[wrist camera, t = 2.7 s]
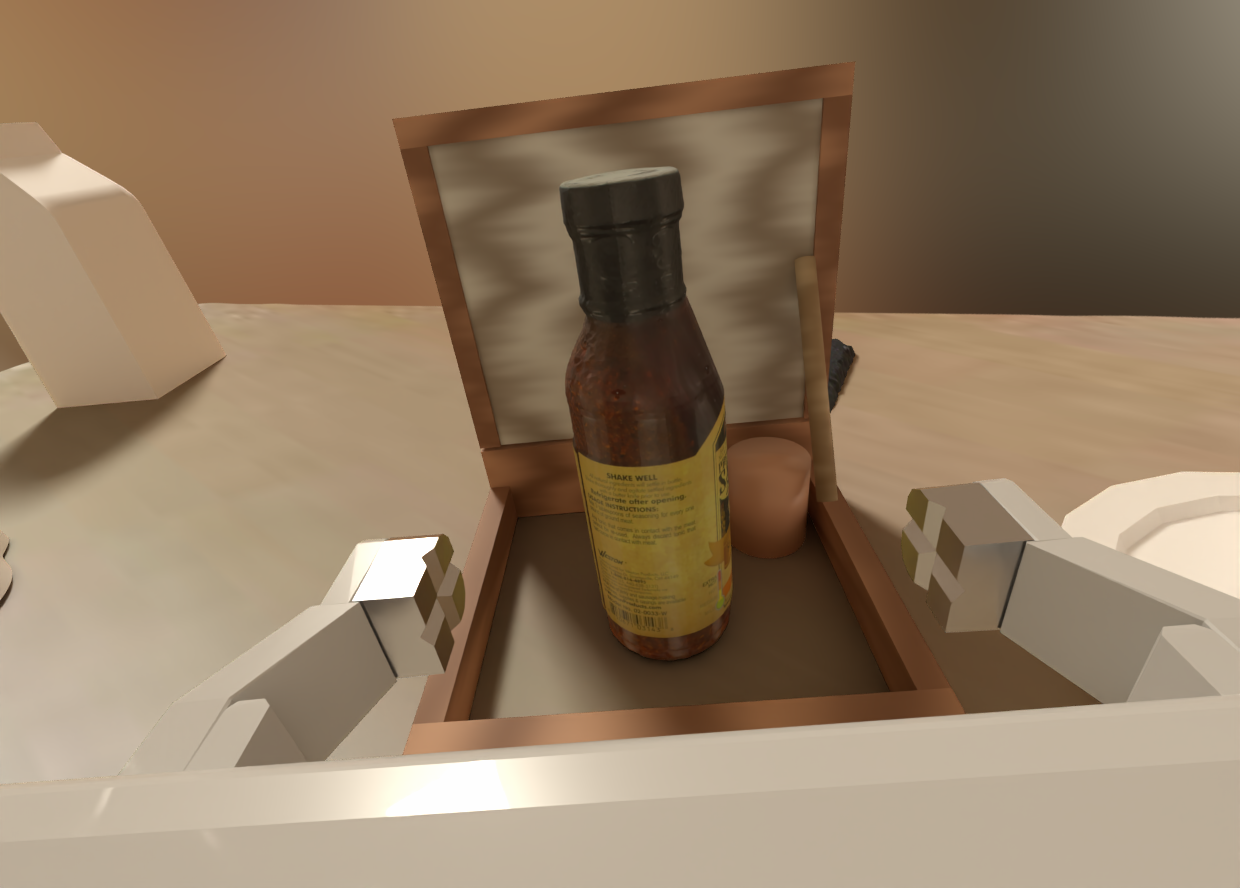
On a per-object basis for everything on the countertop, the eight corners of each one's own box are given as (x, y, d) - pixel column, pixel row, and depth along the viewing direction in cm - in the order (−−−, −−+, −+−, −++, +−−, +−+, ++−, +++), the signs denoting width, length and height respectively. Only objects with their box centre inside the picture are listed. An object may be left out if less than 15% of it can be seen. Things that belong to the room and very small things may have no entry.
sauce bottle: (758, 639, 27) (768, 164, 17) (631, 689, 25) (559, 198, 15) (693, 553, 32) (672, 155, 22) (586, 590, 31) (511, 180, 20)
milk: (158, 399, 61) (-2, 118, 48) (57, 408, 62) (-128, 135, 49) (226, 355, 72) (110, 114, 58) (139, 363, 72) (5, 128, 59)
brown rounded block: (732, 561, 31) (732, 485, 29) (720, 511, 35) (719, 440, 33) (815, 554, 31) (822, 478, 28) (794, 505, 35) (798, 433, 32)
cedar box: (420, 791, 22) (93, 145, 11) (502, 507, 38) (400, 118, 26) (955, 758, 21) (1199, 6, 10) (813, 480, 37) (846, 63, 25)
